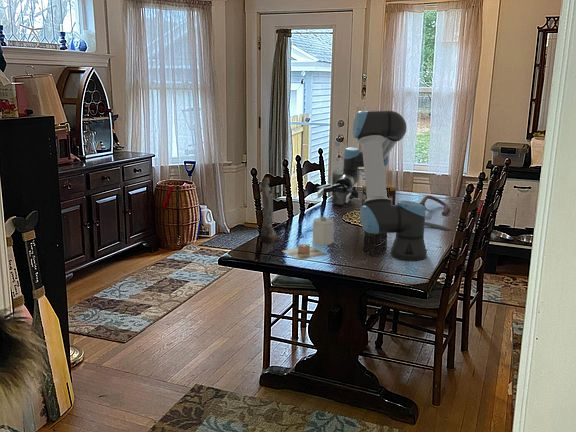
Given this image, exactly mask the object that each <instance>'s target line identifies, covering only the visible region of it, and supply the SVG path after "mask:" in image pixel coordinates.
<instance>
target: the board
mask: <svg viewBox="0 0 576 432" xmlns="http://www.w3.org/2000/svg"><path fill="white" fill-rule="evenodd" d="M281 252H282V253H284V254H286V255H288V256H290V257H293V258H295V259H296V260H299V261H301V260H307V259H312V258H315V257H316V258H317V257H320V256H325V255H327V253H325V252H322V251H320V250H318V249H316V248H314V247H311V246H310V253H309V254H299V253H298V247H294V248H289V249H284V250H281Z"/></svg>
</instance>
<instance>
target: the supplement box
mask: <svg viewBox="0 0 576 432" xmlns="http://www.w3.org/2000/svg"><path fill="white" fill-rule="evenodd" d="M386 187H389V188H390V199H391V203H392V205H396V197H397V196H396V193H397V187H395V186H393V185H390V184H388V183H386ZM361 196H362V199H361V201H362V202H361V207H362V206H364V201H365V200H366V196H367V195H366V185H362V195H361Z"/></svg>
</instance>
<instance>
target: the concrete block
mask: <svg viewBox="0 0 576 432" xmlns="http://www.w3.org/2000/svg"><path fill="white" fill-rule="evenodd" d="M343 167H344V166H339V167H336V169H334V170H333V171H332V176H331V177H332V181H331V182H332V183H331V185H334V184H336V182H337V181H338V180H339V179H340V178H341V177H342V176H343ZM346 197H347V194H344V193H340V192H331V204H334V205H340V206H341V205H342V206H343V205H344V204H345V203H346Z"/></svg>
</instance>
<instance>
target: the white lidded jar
mask: <svg viewBox="0 0 576 432" xmlns="http://www.w3.org/2000/svg"><path fill="white" fill-rule="evenodd" d="M334 225H335V223H334V219H332V218H328V217H326V216H321V217H317V218H314V219H313V222H312V243H313V244H314V245H318V246H319V245H320V246H327V245H328V246H329V245H330V246H331V245H332V244H334V229H335V227H334Z"/></svg>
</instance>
